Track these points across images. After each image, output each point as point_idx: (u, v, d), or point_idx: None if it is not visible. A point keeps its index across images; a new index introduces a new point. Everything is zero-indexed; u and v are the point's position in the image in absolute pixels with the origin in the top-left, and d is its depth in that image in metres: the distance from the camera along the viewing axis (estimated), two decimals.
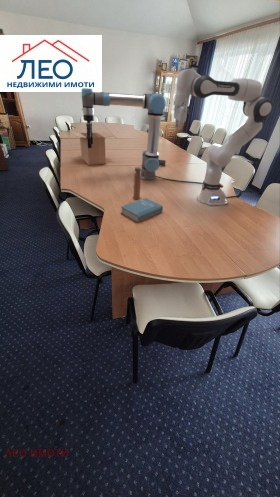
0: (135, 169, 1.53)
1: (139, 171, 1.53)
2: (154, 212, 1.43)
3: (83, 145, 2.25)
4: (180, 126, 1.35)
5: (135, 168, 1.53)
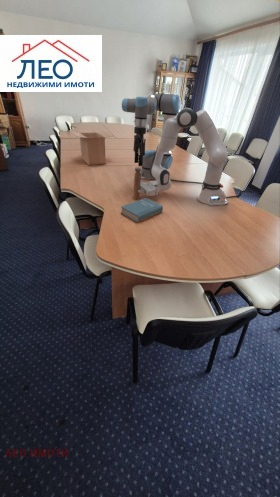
0: (135, 169, 1.53)
1: (139, 171, 1.53)
2: (154, 212, 1.43)
3: (83, 145, 2.25)
4: None
5: (135, 168, 1.53)
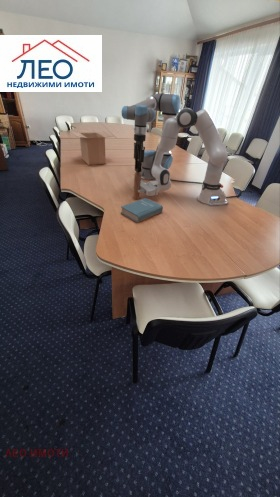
0: (135, 169, 1.53)
1: None
2: (154, 212, 1.43)
3: (83, 145, 2.25)
4: None
5: (135, 168, 1.53)
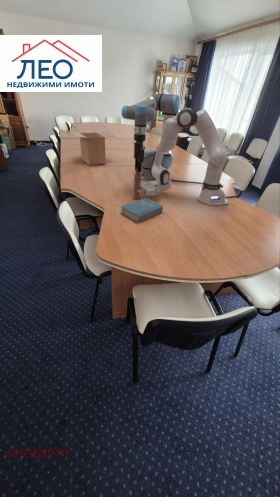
0: None
1: None
2: (154, 212, 1.43)
3: (83, 145, 2.25)
4: None
5: None
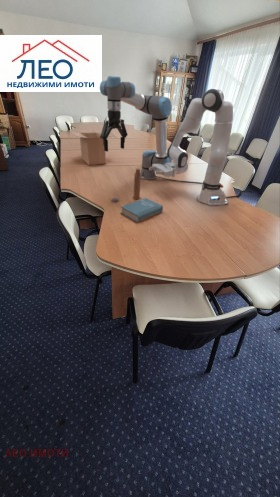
0: (116, 200, 1.58)
1: None
2: (154, 212, 1.43)
3: (83, 145, 2.25)
4: None
5: (115, 199, 1.58)
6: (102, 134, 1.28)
